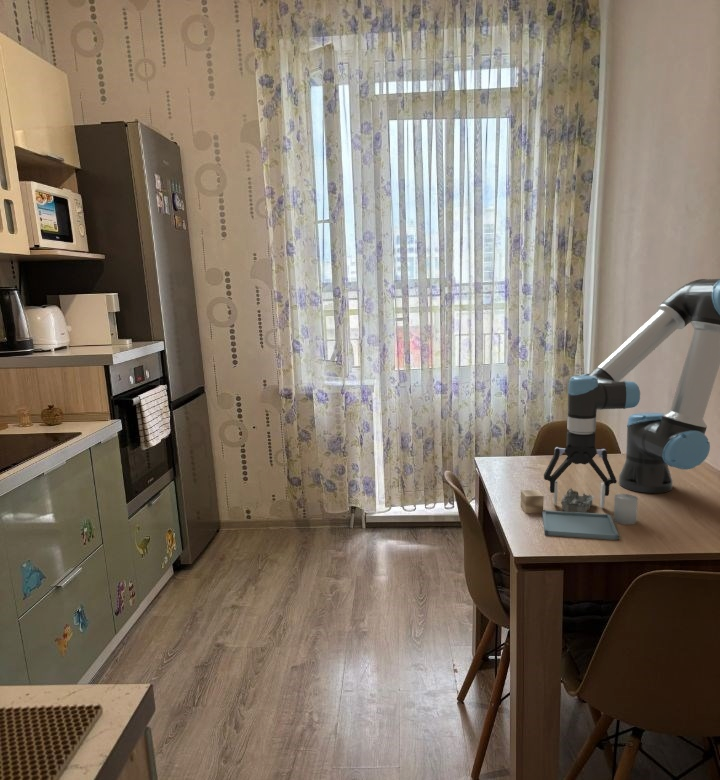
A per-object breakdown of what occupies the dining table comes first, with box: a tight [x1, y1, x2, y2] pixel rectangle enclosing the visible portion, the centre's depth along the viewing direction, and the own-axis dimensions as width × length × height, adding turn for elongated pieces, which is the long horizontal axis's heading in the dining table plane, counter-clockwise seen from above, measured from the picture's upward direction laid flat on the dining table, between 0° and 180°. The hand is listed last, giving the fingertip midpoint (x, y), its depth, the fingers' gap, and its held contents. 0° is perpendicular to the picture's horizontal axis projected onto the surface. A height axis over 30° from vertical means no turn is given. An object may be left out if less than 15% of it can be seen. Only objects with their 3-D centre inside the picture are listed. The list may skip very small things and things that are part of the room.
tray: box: [541, 509, 620, 541], centre depth 158 cm, size 18×15×1 cm
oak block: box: [520, 489, 545, 514], centre depth 170 cm, size 5×5×5 cm
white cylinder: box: [613, 493, 639, 526], centre depth 161 cm, size 6×6×6 cm
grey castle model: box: [560, 487, 595, 513], centre depth 171 cm, size 11×8×4 cm
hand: (578, 504), depth 171 cm, fingers open, 12 cm apart
